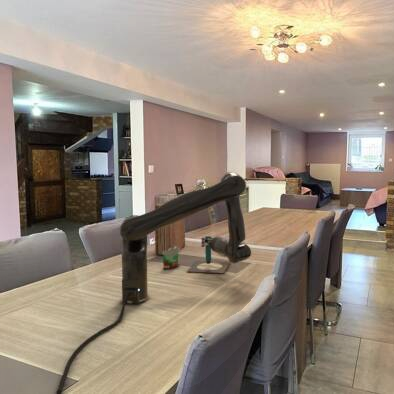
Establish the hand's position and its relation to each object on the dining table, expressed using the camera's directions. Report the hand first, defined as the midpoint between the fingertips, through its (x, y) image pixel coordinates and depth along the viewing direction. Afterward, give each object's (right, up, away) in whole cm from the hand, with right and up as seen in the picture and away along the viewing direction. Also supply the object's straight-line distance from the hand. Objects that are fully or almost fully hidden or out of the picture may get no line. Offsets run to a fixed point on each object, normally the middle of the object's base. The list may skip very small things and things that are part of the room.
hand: (205, 239), depth 175 cm
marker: (+2, -12, -2) cm, 12 cm away
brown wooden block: (-27, -11, +33) cm, 44 cm away
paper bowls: (+11, -12, +31) cm, 35 cm away
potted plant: (-17, -15, +1) cm, 22 cm away
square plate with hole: (+2, -15, 0) cm, 15 cm away
